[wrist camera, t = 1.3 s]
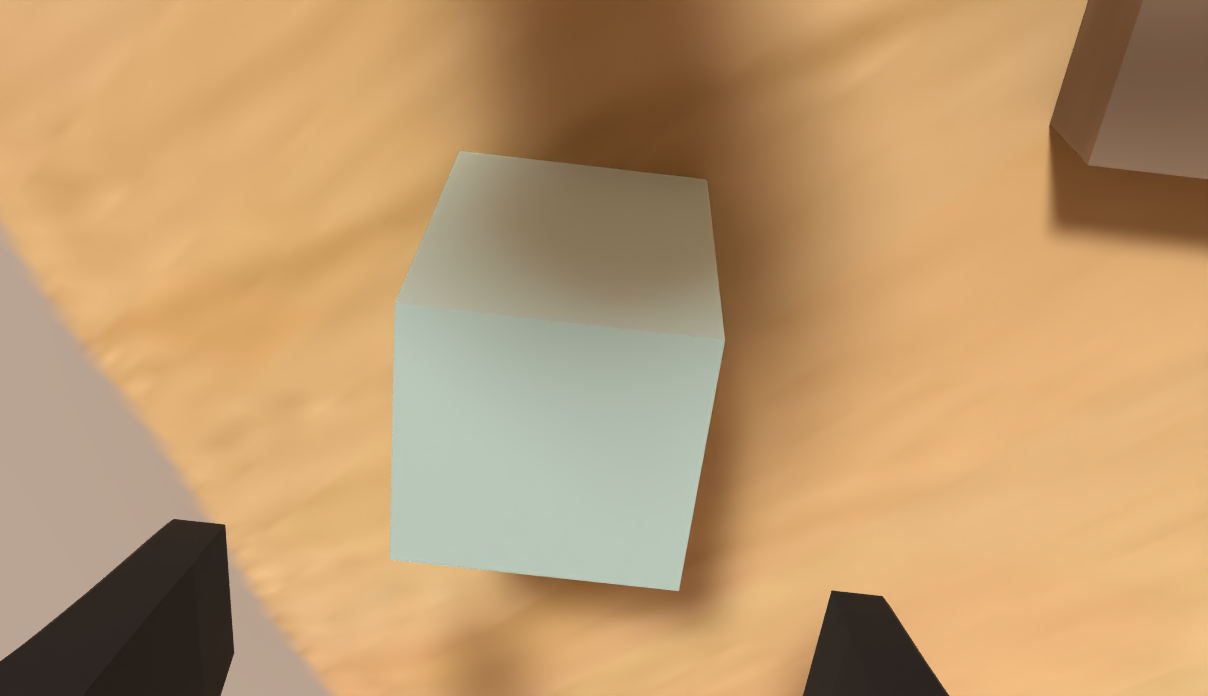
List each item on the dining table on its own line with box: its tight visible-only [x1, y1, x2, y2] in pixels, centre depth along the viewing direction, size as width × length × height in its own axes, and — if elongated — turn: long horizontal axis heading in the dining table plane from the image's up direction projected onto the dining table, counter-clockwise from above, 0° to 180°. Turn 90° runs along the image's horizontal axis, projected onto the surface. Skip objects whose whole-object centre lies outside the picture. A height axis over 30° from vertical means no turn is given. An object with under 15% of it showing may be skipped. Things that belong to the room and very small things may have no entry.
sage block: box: [390, 151, 725, 591], centre depth 19 cm, size 4×4×6 cm
